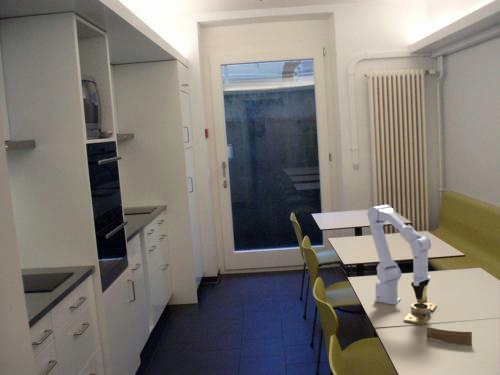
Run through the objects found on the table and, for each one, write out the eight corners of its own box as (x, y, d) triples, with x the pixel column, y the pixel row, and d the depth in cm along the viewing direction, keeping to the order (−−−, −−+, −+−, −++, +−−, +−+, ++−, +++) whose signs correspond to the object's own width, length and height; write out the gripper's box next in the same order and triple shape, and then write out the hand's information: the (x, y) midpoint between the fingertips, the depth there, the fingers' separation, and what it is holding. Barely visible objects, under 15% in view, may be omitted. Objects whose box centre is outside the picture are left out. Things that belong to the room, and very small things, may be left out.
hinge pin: (414, 302, 198) (413, 286, 198) (417, 298, 202) (416, 283, 202) (426, 304, 196) (425, 288, 195) (429, 300, 200) (428, 284, 199)
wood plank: (471, 343, 172) (471, 330, 171) (471, 346, 170) (472, 333, 170) (426, 338, 178) (426, 325, 178) (426, 340, 176) (426, 328, 176)
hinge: (403, 321, 193) (403, 313, 193) (418, 303, 211) (418, 295, 211) (423, 325, 189) (423, 317, 188) (436, 306, 207) (436, 298, 206)
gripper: (426, 272, 189) (426, 304, 191) (434, 262, 201) (434, 292, 203) (408, 269, 193) (408, 301, 195) (417, 260, 205) (418, 290, 207)
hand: (420, 296), depth 199 cm, fingers closed on hinge pin, 5 cm apart
